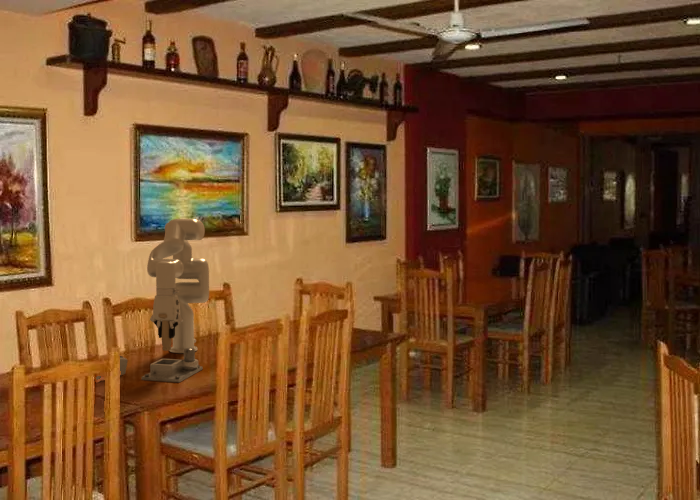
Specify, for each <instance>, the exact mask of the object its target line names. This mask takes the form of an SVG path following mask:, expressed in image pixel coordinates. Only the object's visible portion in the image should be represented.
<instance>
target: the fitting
mask: <svg viewBox="0 0 700 500" xmlns="http://www.w3.org/2000/svg"><path fill="white" fill-rule="evenodd" d="M195 354H196V351H195V348H185V349H184V353H183V359H175V358H160V359H158V360H156V361H154V362H152V363H150V365H149V366H150V367H149V369H150V371H149V372H148V373H144V375H143V376H141V381H153V382H154V381H155V382H167V383H181V382H182V381H184V380H187V379H188V378H190V377H191V376H193V375H195V374H197V373H199V372H200V371H202V370H203V366H201V365H200V364H199V360H198V359H196V357H195V356H196V355H195Z"/></svg>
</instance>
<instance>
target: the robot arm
mask: <svg viewBox="0 0 700 500" xmlns="http://www.w3.org/2000/svg"><path fill="white" fill-rule="evenodd" d="M205 231H206V229H205V225H204V223H203V222H202V221H201V220H199V219H195V218H173V219H170V220H169V221H168V222H166V223H165V225H164V232H165V234H164V237H163V242H161V243H159V244H158V245H156V246H155V247H154V248H153V249H152V250H151V251H150V253H149V256H148V261H147V266H146V269H147V270H146V271H147V274H148V276H149V277H151V278H155V286H156V287H155V288H156V291H155V292H156V294H155V296H154V298H153V305H152V308H153V309H152V314H151V316H150V318H149V321H150V322H152V323H154V325H155V326H156V328H157V335H158V339H162V321H163V320H165V321H169V322H170V329H169V338H170V339H171V338H172V346H171V350H169V351H168V352H170V353H173V354H184V349H185V348H195V352H197V351H198V347H197V346H195V343H196V342H197V339H196V338H195V328H194V327H195V326H194V325H195V322H194V321H195V318H194V315H195V314H194V310H193V308H192V307H191V306H190V305H189V304H205V303H207V302H208V301H209V298H210V269H209V262H208V261H207V260H206V259H205V258H193V253H192V252H193V248H192V244H190V242H189V241H201V240H203V239H204V237H205V233H206V232H205ZM169 257H172V258H170V259H169ZM176 279H177V280H198V282H197V281H193V282H192V281H180V282H179V281H177V282H176ZM158 314H167V318H165V319H162V318H160V317H159V316H158Z"/></svg>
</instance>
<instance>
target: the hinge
mask: <svg viewBox="0 0 700 500" xmlns="http://www.w3.org/2000/svg"><path fill="white" fill-rule="evenodd" d="M119 356H120V371H121V375H120V376H122V375H126V373H127V372H126V371H127V367H128V361H129V360H128V359H127V357H124V356H123V355H122V356H121V355H119ZM100 378H101V376H97V377H96V379H97V380H98V379H100Z"/></svg>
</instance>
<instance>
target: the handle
mask: <svg viewBox="0 0 700 500" xmlns="http://www.w3.org/2000/svg"><path fill="white" fill-rule="evenodd" d="M158 316H159V317H160V318H162V319H165V318H167V314H158ZM169 329H170V322H169V321H165V320H163V321H162V338H161V345H162V351H164V352H167V351H168V352H170V351H169V350H171V347H172V341H173V338H171V339H170V338H169Z"/></svg>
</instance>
